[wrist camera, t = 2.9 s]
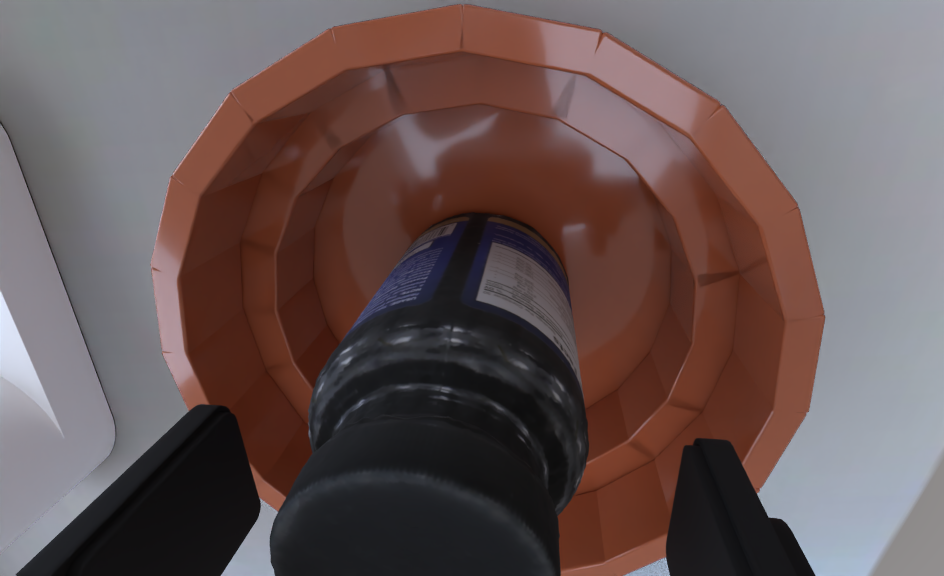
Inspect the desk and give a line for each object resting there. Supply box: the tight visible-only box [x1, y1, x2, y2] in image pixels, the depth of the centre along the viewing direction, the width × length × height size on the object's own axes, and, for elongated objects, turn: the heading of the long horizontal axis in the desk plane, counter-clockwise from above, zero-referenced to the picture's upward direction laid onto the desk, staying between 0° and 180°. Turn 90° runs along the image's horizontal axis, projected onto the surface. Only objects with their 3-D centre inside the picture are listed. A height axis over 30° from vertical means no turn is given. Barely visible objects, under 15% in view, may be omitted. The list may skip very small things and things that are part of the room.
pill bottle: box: [270, 212, 589, 576], centre depth 13 cm, size 6×6×11 cm
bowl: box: [150, 4, 825, 576], centre depth 15 cm, size 17×17×6 cm
